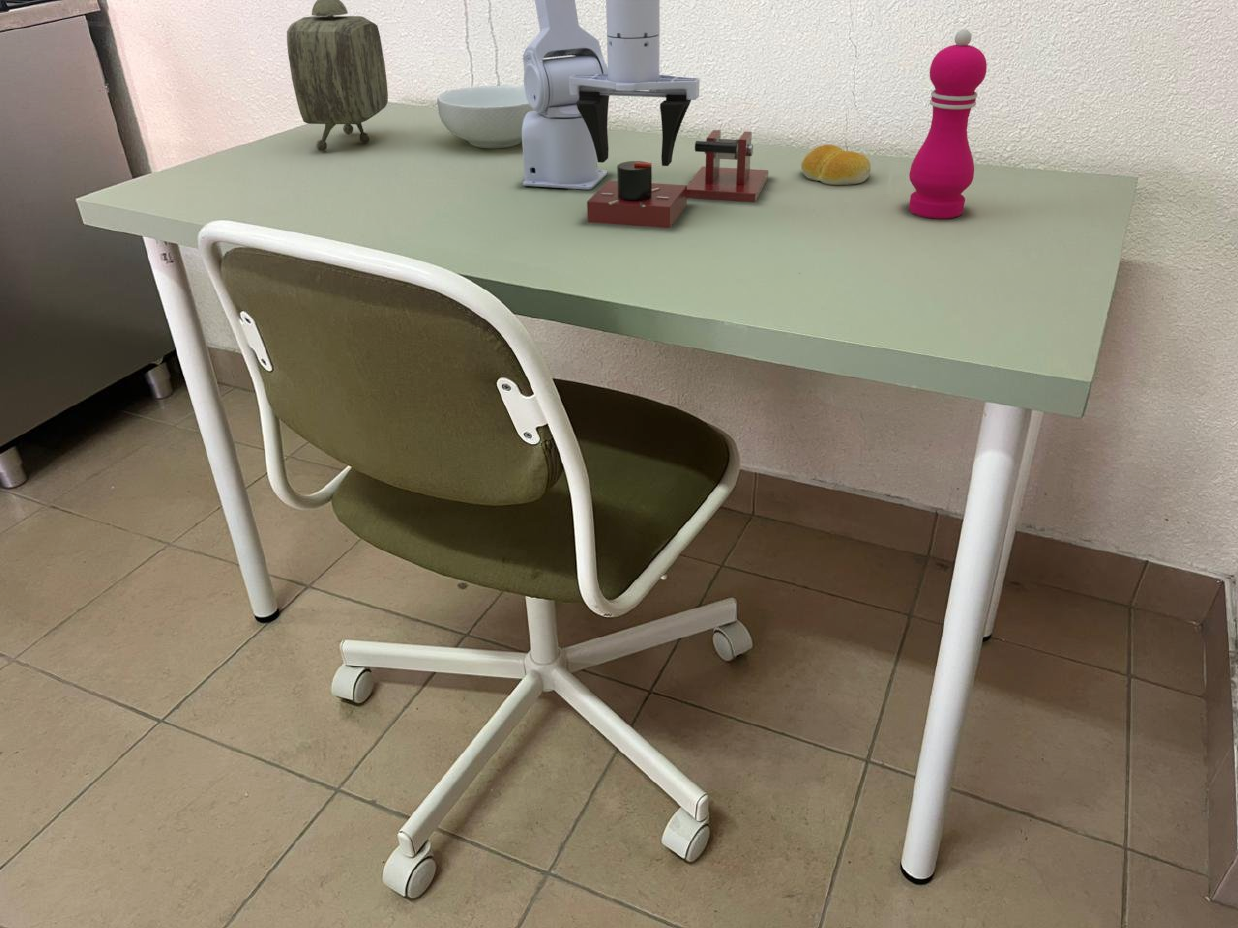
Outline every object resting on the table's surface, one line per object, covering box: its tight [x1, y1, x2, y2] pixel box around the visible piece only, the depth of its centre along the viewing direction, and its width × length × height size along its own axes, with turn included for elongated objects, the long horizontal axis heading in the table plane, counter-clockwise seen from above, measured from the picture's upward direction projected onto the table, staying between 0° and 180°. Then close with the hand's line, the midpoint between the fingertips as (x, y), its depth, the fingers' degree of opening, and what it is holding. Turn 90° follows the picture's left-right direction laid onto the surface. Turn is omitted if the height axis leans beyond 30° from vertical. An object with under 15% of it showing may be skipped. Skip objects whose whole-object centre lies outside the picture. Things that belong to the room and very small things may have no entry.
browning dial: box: [616, 160, 653, 201], centre depth 112 cm, size 4×4×4 cm
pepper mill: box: [908, 29, 988, 220], centre depth 109 cm, size 7×7×20 cm
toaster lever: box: [694, 138, 739, 161], centre depth 118 cm, size 11×5×2 cm, turn 164°
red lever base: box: [686, 129, 769, 203], centre depth 122 cm, size 11×9×7 cm
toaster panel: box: [586, 180, 688, 229], centre depth 114 cm, size 10×10×3 cm
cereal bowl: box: [436, 85, 535, 149], centre depth 145 cm, size 17×17×7 cm
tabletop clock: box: [286, 0, 389, 152], centre depth 142 cm, size 14×9×25 cm, turn 172°
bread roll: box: [800, 144, 872, 186], centre depth 126 cm, size 8×9×4 cm
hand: (634, 162), depth 111 cm, fingers open, 7 cm apart
